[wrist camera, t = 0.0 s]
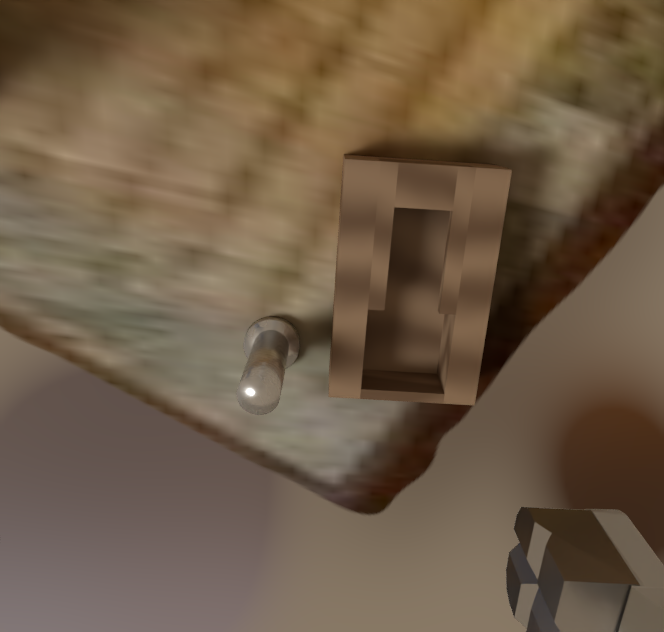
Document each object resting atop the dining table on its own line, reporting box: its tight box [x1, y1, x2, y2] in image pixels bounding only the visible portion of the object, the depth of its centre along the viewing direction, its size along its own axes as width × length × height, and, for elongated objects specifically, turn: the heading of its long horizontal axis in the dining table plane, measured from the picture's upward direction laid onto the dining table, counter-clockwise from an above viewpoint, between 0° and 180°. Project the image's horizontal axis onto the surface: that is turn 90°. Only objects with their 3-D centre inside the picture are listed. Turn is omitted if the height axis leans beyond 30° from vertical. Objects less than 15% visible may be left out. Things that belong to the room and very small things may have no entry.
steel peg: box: [237, 316, 300, 415], centre depth 54 cm, size 6×6×12 cm
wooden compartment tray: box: [329, 155, 512, 405], centre depth 55 cm, size 22×14×6 cm, turn 176°
